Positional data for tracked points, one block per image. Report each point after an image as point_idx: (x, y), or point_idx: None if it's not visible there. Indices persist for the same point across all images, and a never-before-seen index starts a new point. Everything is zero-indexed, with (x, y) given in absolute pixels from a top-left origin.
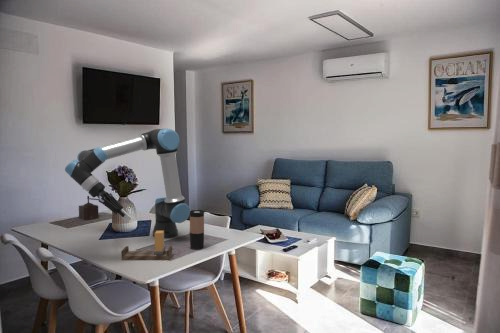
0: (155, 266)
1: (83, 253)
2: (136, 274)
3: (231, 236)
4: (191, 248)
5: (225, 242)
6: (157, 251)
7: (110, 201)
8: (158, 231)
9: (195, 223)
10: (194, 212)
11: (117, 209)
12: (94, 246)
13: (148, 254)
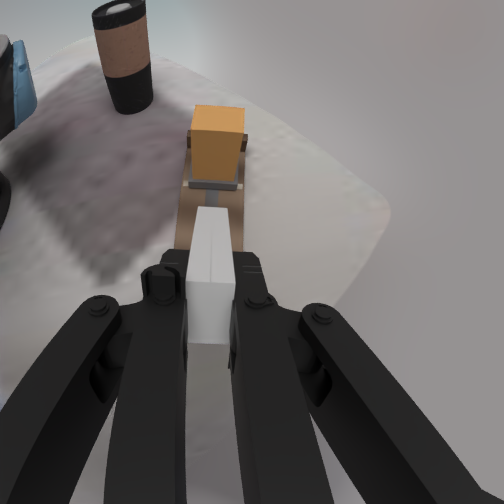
0: (303, 187)
1: None
2: (367, 232)
3: (73, 62)
4: (141, 109)
5: None
6: (236, 172)
7: (330, 502)
8: (209, 121)
9: (145, 35)
10: (122, 9)
11: (335, 314)
12: None
13: None
